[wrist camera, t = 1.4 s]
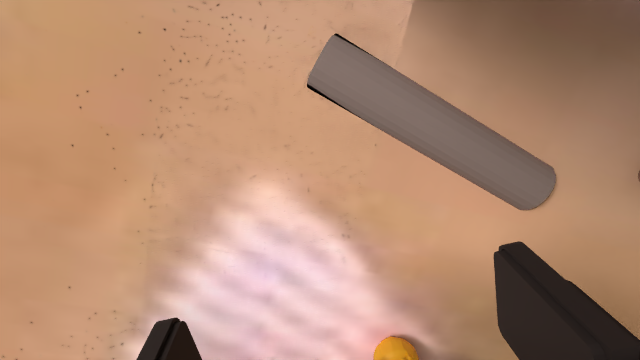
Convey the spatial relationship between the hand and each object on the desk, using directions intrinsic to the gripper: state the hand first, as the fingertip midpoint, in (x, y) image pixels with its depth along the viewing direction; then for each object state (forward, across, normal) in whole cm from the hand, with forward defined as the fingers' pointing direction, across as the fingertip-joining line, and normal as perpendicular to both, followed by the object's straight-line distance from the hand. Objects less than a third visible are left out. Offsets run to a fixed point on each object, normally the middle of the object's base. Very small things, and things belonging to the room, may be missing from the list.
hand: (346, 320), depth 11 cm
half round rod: (+17, -9, 0) cm, 19 cm away
